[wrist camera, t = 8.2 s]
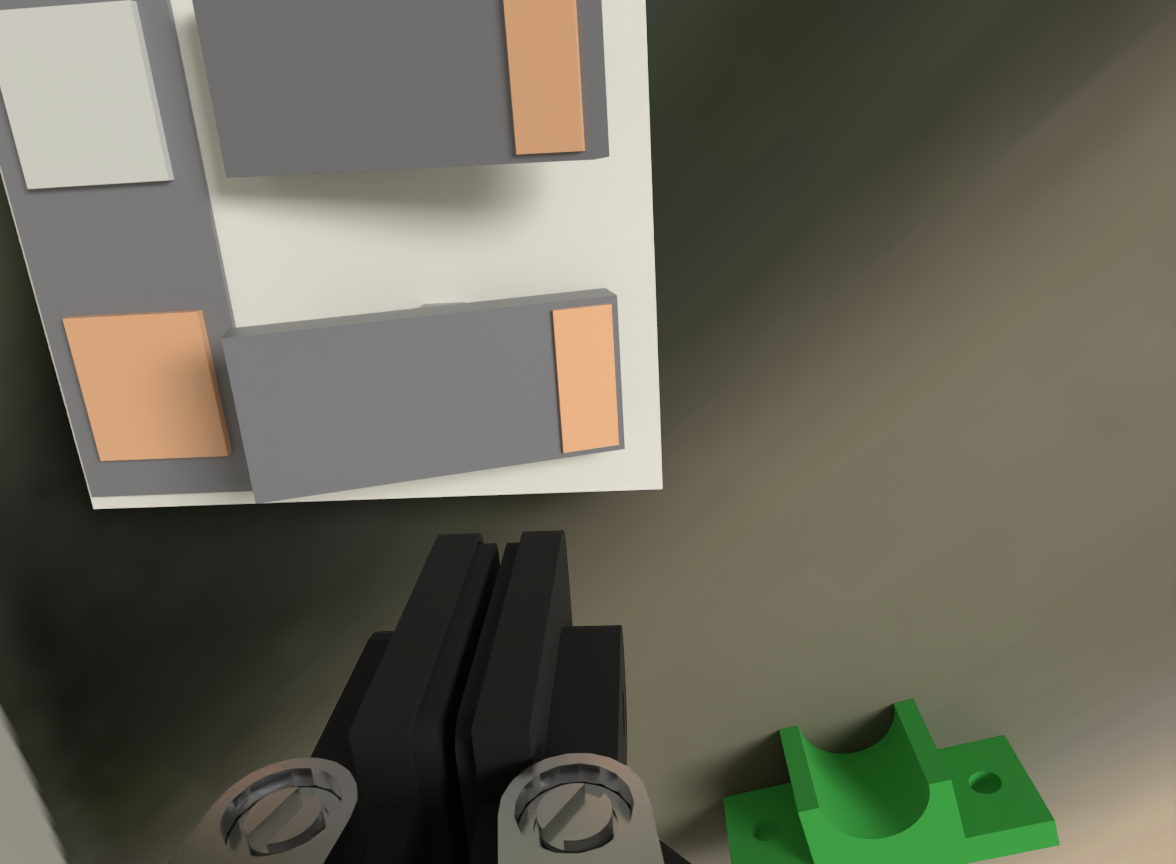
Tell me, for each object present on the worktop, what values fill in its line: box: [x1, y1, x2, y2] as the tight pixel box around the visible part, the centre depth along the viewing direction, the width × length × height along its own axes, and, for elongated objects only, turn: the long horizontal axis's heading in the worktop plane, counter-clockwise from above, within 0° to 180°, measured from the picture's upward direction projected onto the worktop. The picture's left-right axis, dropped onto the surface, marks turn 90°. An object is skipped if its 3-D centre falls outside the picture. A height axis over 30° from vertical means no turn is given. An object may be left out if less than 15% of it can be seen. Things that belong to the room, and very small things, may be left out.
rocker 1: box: [192, 0, 609, 178], centre depth 21 cm, size 4×10×1 cm, turn 93°
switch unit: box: [0, 0, 663, 509], centre depth 24 cm, size 24×18×5 cm
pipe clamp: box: [723, 699, 1060, 864], centre depth 32 cm, size 11×4×5 cm, turn 108°
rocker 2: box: [221, 288, 625, 504], centre depth 23 cm, size 4×10×1 cm, turn 94°
